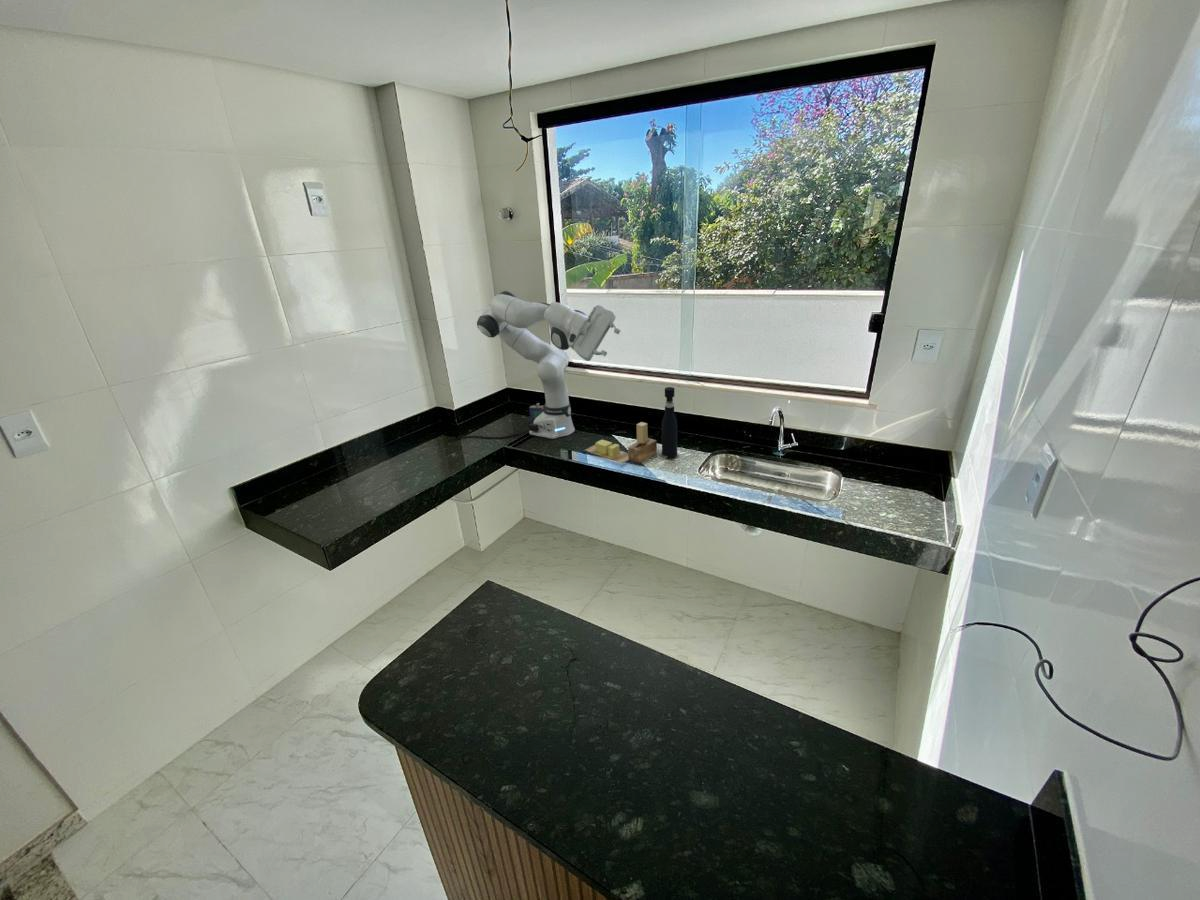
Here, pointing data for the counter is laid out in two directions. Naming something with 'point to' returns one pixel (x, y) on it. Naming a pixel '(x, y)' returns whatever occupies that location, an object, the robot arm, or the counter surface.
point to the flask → (535, 412)
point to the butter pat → (614, 450)
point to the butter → (603, 446)
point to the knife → (642, 433)
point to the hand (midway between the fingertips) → (612, 343)
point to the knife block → (642, 451)
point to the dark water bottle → (669, 427)
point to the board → (619, 457)
